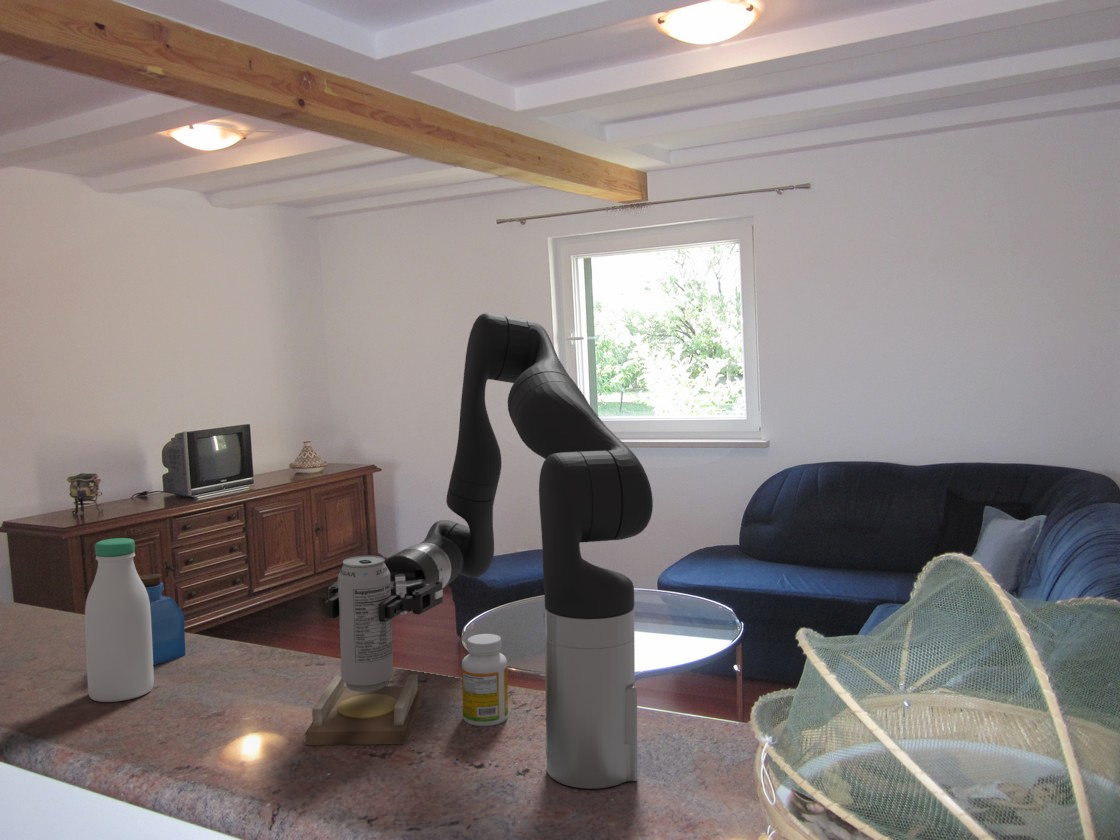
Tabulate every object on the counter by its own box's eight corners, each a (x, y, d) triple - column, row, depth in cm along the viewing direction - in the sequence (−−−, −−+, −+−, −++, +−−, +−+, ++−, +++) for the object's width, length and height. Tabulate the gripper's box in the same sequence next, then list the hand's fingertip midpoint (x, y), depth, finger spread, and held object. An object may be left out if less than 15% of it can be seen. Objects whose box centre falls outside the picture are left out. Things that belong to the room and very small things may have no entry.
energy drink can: (381, 671, 113) (378, 552, 112) (401, 686, 108) (397, 561, 107) (334, 681, 110) (330, 559, 109) (352, 697, 105) (348, 569, 104)
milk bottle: (164, 691, 119) (157, 539, 118) (102, 709, 113) (94, 549, 112) (139, 678, 124) (133, 532, 123) (79, 693, 119) (71, 541, 117)
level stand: (422, 697, 116) (422, 670, 116) (404, 743, 102) (404, 713, 102) (335, 698, 116) (335, 671, 116) (306, 745, 102) (305, 714, 102)
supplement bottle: (485, 706, 113) (483, 628, 112) (517, 716, 109) (516, 637, 109) (453, 720, 109) (451, 639, 108) (486, 731, 105) (484, 648, 105)
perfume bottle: (185, 655, 134) (182, 574, 133) (146, 667, 128) (142, 583, 128) (159, 648, 137) (156, 569, 136) (120, 660, 132) (117, 578, 131)
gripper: (364, 545, 123) (298, 576, 107) (464, 550, 120) (412, 583, 104) (366, 600, 124) (301, 639, 108) (465, 606, 120) (413, 648, 104)
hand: (355, 611), depth 106 cm, fingers closed on energy drink can, 6 cm apart
